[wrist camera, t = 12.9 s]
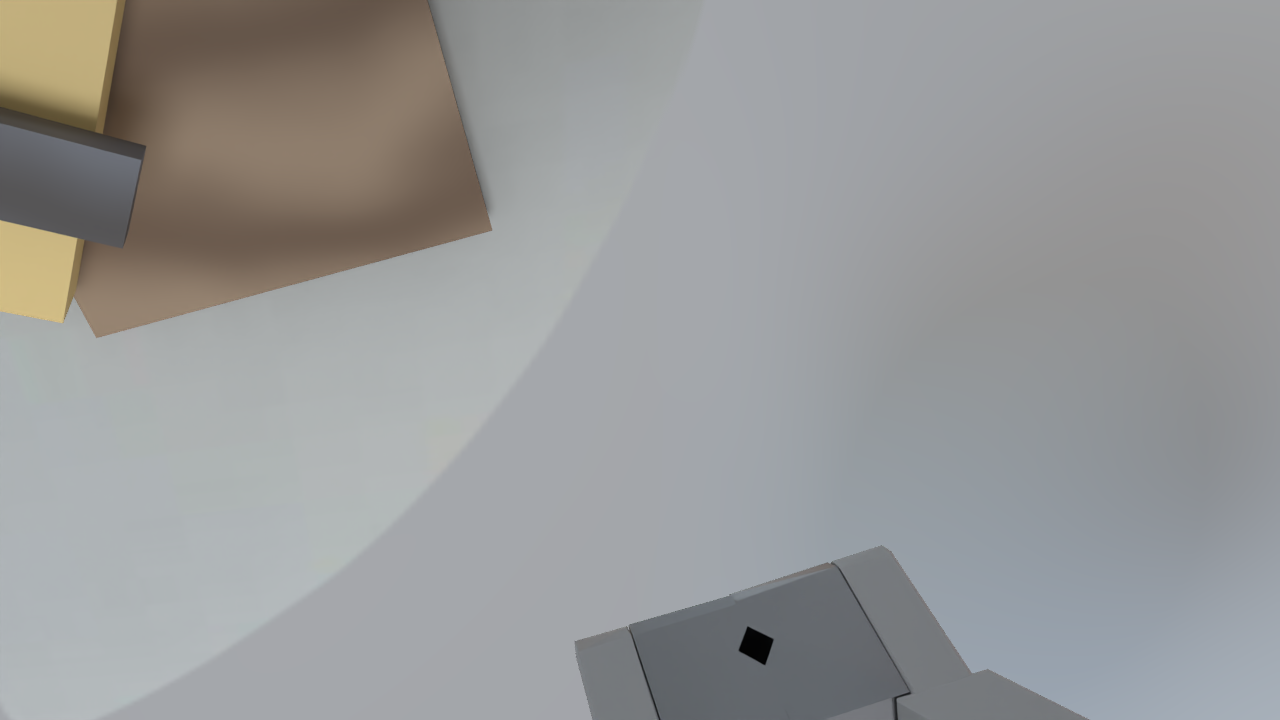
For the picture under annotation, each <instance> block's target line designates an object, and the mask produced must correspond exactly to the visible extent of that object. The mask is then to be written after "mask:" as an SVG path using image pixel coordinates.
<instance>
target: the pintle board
mask: <svg viewBox="0 0 1280 720" xmlns="http://www.w3.org/2000/svg"><path fill="white" fill-rule="evenodd" d="M0 220H1V221H6V222H10V223H14V224H19V225H23V226H27V227H31V228H36V229H40V230H44V231H49V232H53V233H57V234H62V235H66V236H70V237H75V238H79V239H83V240H84V246H83V252H82V258H81V264H80V270H79V276H78V281H77V287H76V291H75V294H74V298H75V299H76V301H77V303H78V305H79V307H80V309H81V311H82V312H83V314H84V316H85V318H86V320H87V322H88V323H89V325H90V327H91V329H92V331H93V333H94V334H95V336H96V338H98V337H102V336H105V335H109V334H113V333H116V332H120V331H124V330H127V329H131V328H135V327H139V326H142V325H146V324H150V323H153V322H157V321H161V320H164V319H168V318H172V317H175V316H179V315H183V314H186V313H190V312H194V311H197V310H201V309H205V308H208V307H212V306H216V305H219V304H223V303H227V302H231V301H234V300H238V299H242V298H245V297H249V296H253V295H256V294H260V293H264V292H267V291H271V290H275V289H278V288H282V287H286V286H289V285H293V284H297V283H300V282H304V281H308V280H312V279H315V278H319V277H323V276H326V275H330V274H334V273H337V272H341V271H345V270H348V269H352V268H356V267H359V266H363V265H367V264H370V263H374V262H378V261H381V260H385V259H389V258H392V257H396V256H400V255H404V254H407V253H411V252H415V251H418V250H422V249H426V248H429V247H433V246H437V245H440V244H444V243H448V242H451V241H455V240H459V239H462V238H466V237H470V236H473V235H477V234H481V233H485V232H488V231H492V227H491V224H490V220H489V217H488V213H487V210H486V206H485V203H484V199H483V196H482V192H481V188H480V185H479V181H478V178H477V174H476V171H475V167H474V164H473V160H472V157H471V153H470V149H469V146H468V142H467V139H466V135H465V132H464V128H463V125H462V121H461V118H460V114H459V110H458V107H457V103H456V100H455V96H454V93H453V89H452V86H451V82H450V79H449V75H448V71H447V68H446V64H445V61H444V57H443V54H442V50H441V47H440V43H439V39H438V36H437V32H436V29H435V25H434V22H433V18H432V15H431V11H430V8H429V4H428V0H126V1H125V7H124V12H123V18H122V24H121V30H120V36H119V42H118V47H117V53H116V59H115V65H114V71H113V77H112V83H111V88H110V94H109V100H108V106H107V112H106V118H105V124H104V129H103V134H100V133H97V132H93V131H89V130H85V129H82V128H78V127H74V126H71V125H67V124H63V123H59V122H56V121H52V120H48V119H44V118H41V117H37V116H33V115H30V114H26V113H22V112H18V111H15V110H11V109H7V108H3V107H0Z"/></svg>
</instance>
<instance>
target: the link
mask: <svg viewBox="0 0 1280 720" xmlns="http://www.w3.org/2000/svg"><path fill="white" fill-rule="evenodd" d="M125 1H126V0H0V107H3V108H7V109H11V110H15V111H18V112H22V113H26V114H30V115H33V116H37V117H41V118H44V119H48V120H52V121H56V122H59V123H63V124H67V125H71V126H74V127H78V128H82V129H85V130H89V131H93V132H97V133H100V134H103V129H104V124H105V118H106V112H107V106H108V100H109V94H110V88H111V83H112V77H113V71H114V65H115V59H116V53H117V47H118V42H119V36H120V30H121V24H122V18H123V12H124V7H125ZM83 246H84V240H83V239H79V238H75V237H70V236H66V235H62V234H57V233H53V232H49V231H44V230H40V229H36V228H31V227H27V226H23V225H19V224H14V223H10V222H6V221H1V220H0V311H2V312H7V313H12V314H17V315H23V316H28V317H33V318H38V319H44V320H49V321H54V322H60V323H63V322H64V319H65V317H66V314H67V312H68V309H69V307H70V304H71V302H72V299H73V297H74V294H75V291H76V287H77V281H78V276H79V270H80V264H81V258H82V252H83Z"/></svg>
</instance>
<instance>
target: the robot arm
mask: <svg viewBox="0 0 1280 720" xmlns="http://www.w3.org/2000/svg"><path fill="white" fill-rule="evenodd" d="M629 631H630V632H629ZM575 650H576V658H577V662H578V666H579V670H580V673H581V677H582V681H583V685H584V689H585V693H586V696H587V700H588V704H589V708H590V712H591V716H592V719H593V720H1089V719H1087V718H1085V717H1083V716H1081V715H1079V714H1077V713H1075V712H1073V711H1071V710H1069V709H1067V708H1065V707H1063V706H1061V705H1059V704H1057V703H1055V702H1053V701H1051V700H1049V699H1047V698H1045V697H1043V696H1041V695H1039V694H1037V693H1035V692H1033V691H1030V690H1028V689H1027V688H1025V687H1023V686H1020V685H1018V684H1017V683H1015V682H1013V681H1011V680H1009V679H1007V678H1004V677H1003V676H1001V675H998V674H996V673H994V672H992V671H990V670H988V669H987V670H984V671H980V672H977V673H973V674H972V673H971V671H970V670H969V668H968V667H967V665H966V664H965V662H964V661H963V659H962V658H961V656H960V655H959V653H958V652H957V650H956V649H955V647H954V646H953V644H952V643H951V641H950V640H949V638H948V637H947V635H946V634H945V632H944V630H943V629H942V628H941V626H940V625H939V623H938V622H937V620H936V618H935V617H934V615H933V614H932V612H931V611H930V609H929V608H928V606H927V605H926V603H925V602H924V600H923V599H922V597H921V596H920V594H919V593H918V591H917V590H916V588H915V587H914V585H913V584H912V582H911V581H910V579H909V578H908V576H907V575H906V573H905V572H904V570H903V569H902V567H901V566H900V564H899V563H898V561H897V560H896V558H895V557H894V555H893V553H892V552H891V551H889V550H888V549H887V548H885V547H884V546H878V547H875V548H872V549H869V550H866V551H863V552H860V553H857V554H853V555H850V556H847V557H844V558H841V559H838V560H835V561H832V562H831V564H830V563H824V564H821V565H818V566H815V567H812V568H809V569H806V570H803V571H800V572H797V573H794V574H791V575H788V576H784V577H781V578H778V579H775V580H772V581H769V582H766V583H763V584H760V585H757V586H754V587H751V588H748V589H745V590H742V591H739V592H736V593H733V594H730V595H729V596H727V597H724V598H720V599H717V600H713V601H710V602H706V603H703V604H699V605H696V606H692V607H689V608H685V609H682V610H679V611H675V612H672V613H668V614H665V615H661V616H658V617H654V618H651V619H648V620H644V621H641V622H637V623H633V624H630V625H629V630H628V627H627V626H626V627H623V628H619V629H616V630H612V631H609V632H606V633H602V634H599V635H596V636H592V637H589V638H585V639H582V640H578V641H575Z"/></svg>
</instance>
